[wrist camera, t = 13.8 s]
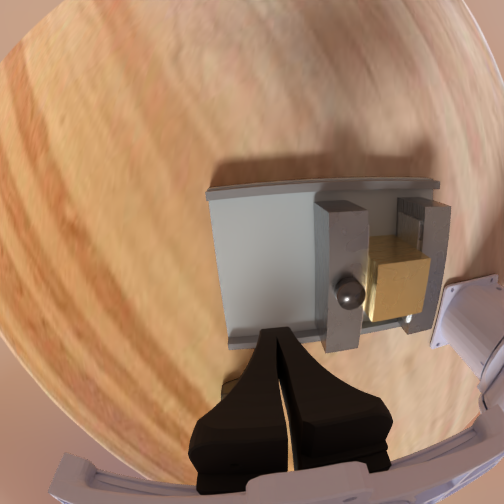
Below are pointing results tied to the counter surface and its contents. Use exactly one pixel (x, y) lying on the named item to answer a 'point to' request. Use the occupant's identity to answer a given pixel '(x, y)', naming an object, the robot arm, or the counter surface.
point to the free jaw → (340, 272)
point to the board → (289, 247)
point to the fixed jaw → (424, 250)
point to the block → (394, 278)
